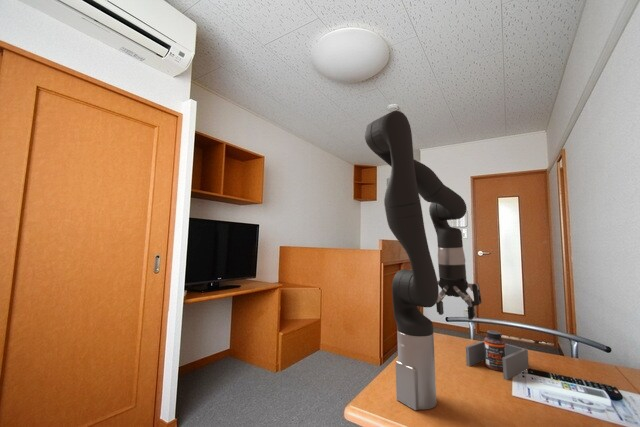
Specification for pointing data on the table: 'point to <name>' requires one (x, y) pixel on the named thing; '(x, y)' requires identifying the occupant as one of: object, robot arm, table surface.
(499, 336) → the supplement bottle
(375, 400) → the table surface
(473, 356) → the grey u-shaped bracket
